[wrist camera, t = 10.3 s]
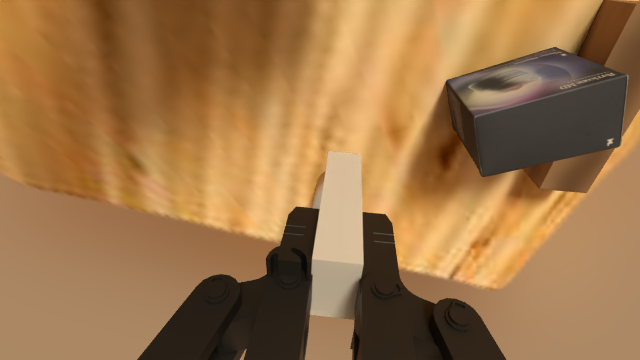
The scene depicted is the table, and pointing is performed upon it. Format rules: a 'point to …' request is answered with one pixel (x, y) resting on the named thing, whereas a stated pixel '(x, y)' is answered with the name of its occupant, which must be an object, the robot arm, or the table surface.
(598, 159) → the walnut rail
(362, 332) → the robot arm
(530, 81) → the small box
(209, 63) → the table surface
